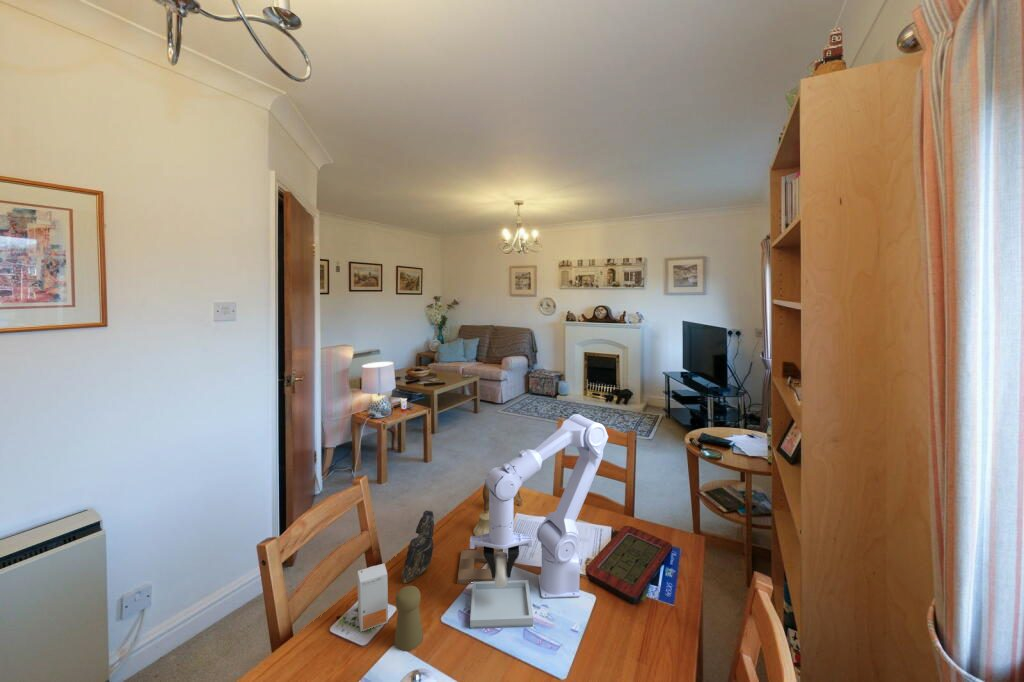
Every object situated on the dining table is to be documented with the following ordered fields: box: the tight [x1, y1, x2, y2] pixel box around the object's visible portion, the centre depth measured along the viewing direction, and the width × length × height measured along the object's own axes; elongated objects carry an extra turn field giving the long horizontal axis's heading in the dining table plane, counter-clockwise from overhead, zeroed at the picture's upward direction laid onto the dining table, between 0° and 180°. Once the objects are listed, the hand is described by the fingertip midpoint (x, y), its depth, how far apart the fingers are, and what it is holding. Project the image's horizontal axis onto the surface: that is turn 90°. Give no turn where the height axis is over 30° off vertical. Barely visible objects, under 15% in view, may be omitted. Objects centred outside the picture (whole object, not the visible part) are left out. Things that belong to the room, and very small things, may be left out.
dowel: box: [495, 551, 508, 588], centre depth 92 cm, size 3×3×7 cm
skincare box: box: [356, 563, 389, 633], centre depth 87 cm, size 6×4×12 cm
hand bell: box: [472, 483, 489, 536], centre depth 122 cm, size 8×8×16 cm
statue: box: [401, 510, 435, 584], centre depth 104 cm, size 6×12×15 cm, turn 153°
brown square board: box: [457, 548, 504, 585], centre depth 106 cm, size 12×12×1 cm
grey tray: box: [469, 579, 534, 630], centre depth 92 cm, size 14×12×2 cm
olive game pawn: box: [394, 585, 424, 652], centre depth 83 cm, size 6×6×11 cm
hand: (501, 574), depth 92 cm, fingers closed on dowel, 3 cm apart
